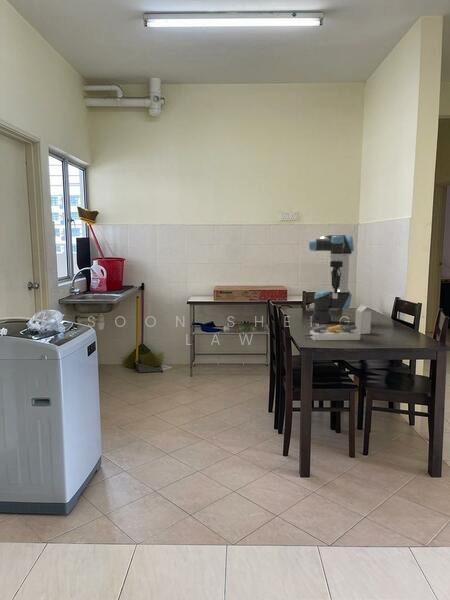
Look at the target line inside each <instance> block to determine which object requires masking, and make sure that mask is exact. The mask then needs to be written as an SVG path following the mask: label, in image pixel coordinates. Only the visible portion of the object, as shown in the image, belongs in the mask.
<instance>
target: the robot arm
mask: <svg viewBox="0 0 450 600" xmlns="http://www.w3.org/2000/svg"><path fill="white" fill-rule="evenodd" d="M308 245H309V247H308V248H309V250H310V252H311V251H312V252H313V251H314V252H319V251H320V252H325V251H326V252H330V255H329V257H330V262H329V264H330V265H329V267H330V268H332V270H331V271H330V274H331V287H332V292H331V290H321V291H316V292H315V293H314V300H313V301H314V302H313V303H314V305H313V312H312V313H313V314H312V316H311V318H310V319H311V323H314V324H322V325H326V324H331V323H333V318H332V315H331V309H332V310H333V309H334V310H349V309H350V307H351V302H352V296H353V295H352V293H351V291H350V289H349V273H350V272H349V270H350V256H351V255H352V253H353V252H355V251H354V250H355V249H354V247H355V245H354V240H353V236H352V235H349V234H340V235H339V234H338V235H337V234H334V235H333V234H330V235H325V236H321V237H319V238H311V239H309V244H308Z"/></svg>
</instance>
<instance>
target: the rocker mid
mask: <svg viewBox="0 0 450 600" xmlns="http://www.w3.org/2000/svg"><path fill="white" fill-rule="evenodd" d="M326 330H327V331H329V332H332V331H336V330H342V325H340V324H337V325H333V326H328V327H327V329H326Z"/></svg>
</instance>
